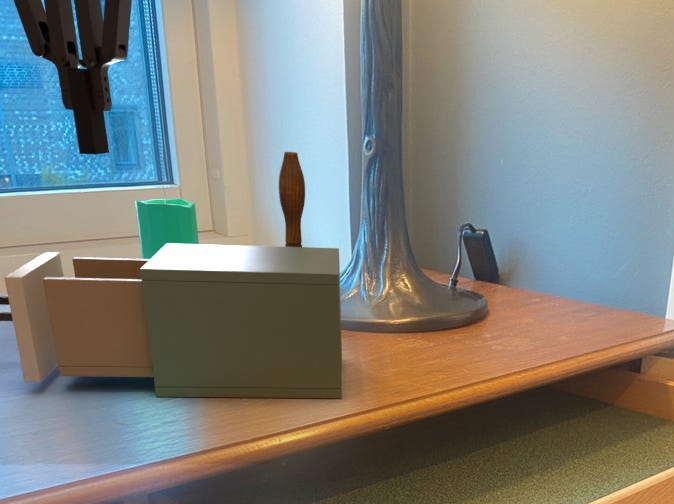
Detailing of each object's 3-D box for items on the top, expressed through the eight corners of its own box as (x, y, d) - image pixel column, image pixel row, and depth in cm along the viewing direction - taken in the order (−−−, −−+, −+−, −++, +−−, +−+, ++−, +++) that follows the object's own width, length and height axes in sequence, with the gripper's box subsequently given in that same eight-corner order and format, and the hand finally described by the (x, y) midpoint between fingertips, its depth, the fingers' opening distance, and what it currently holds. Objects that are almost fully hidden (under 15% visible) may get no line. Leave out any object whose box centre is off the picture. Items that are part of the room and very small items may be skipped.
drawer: (-43, 381, 74) (-67, 275, 70) (2, 345, 84) (-17, 250, 80) (202, 384, 76) (192, 281, 72) (218, 349, 86) (210, 256, 82)
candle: (161, 313, 101) (146, 188, 95) (138, 303, 105) (123, 182, 99) (214, 308, 104) (203, 187, 98) (190, 298, 108) (178, 181, 102)
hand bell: (310, 310, 106) (303, 148, 98) (351, 325, 100) (347, 155, 92) (241, 318, 101) (228, 148, 93) (281, 334, 96) (270, 155, 87)
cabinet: (155, 397, 76) (139, 269, 71) (179, 356, 86) (166, 243, 82) (342, 398, 78) (338, 273, 73) (342, 359, 88) (339, 248, 83)
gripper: (-65, -205, 71) (2, 151, 83) (104, -200, 70) (148, 159, 82) (-10, -181, 77) (45, 147, 89) (146, -176, 76) (181, 154, 88)
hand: (94, 152), depth 86 cm, fingers closed
